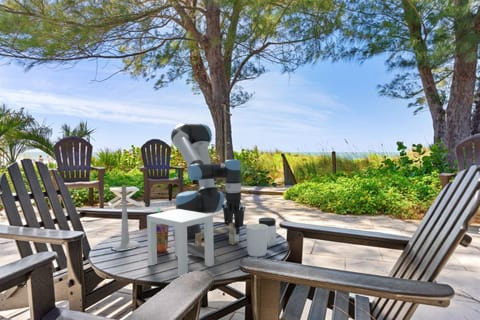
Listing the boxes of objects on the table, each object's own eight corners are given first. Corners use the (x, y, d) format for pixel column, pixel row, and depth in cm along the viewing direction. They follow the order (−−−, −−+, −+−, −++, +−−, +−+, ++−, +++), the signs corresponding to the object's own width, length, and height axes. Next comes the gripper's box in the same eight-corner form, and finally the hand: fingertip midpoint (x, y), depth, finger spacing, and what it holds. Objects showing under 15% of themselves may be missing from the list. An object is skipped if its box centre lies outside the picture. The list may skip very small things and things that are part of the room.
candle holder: (244, 250, 136) (244, 224, 136) (266, 249, 137) (265, 223, 136) (247, 257, 126) (246, 229, 126) (270, 256, 127) (269, 228, 127)
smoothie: (152, 255, 130) (151, 210, 130) (148, 250, 138) (147, 207, 137) (171, 252, 134) (170, 208, 134) (167, 247, 142) (166, 205, 141)
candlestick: (127, 241, 152) (125, 182, 151) (145, 245, 146) (143, 183, 145) (105, 248, 141) (103, 185, 140) (123, 253, 135) (121, 186, 134)
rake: (227, 240, 150) (227, 220, 150) (246, 244, 142) (246, 223, 142) (187, 252, 130) (187, 229, 130) (206, 258, 122) (206, 234, 122)
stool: (148, 265, 120) (146, 215, 119) (179, 254, 132) (178, 208, 132) (182, 278, 106) (181, 222, 106) (213, 264, 119) (212, 214, 118)
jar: (265, 247, 139) (265, 222, 139) (255, 243, 146) (254, 218, 146) (280, 244, 144) (279, 219, 144) (269, 240, 151) (269, 216, 150)
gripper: (216, 191, 146) (217, 239, 147) (240, 193, 136) (241, 245, 137) (226, 189, 152) (227, 235, 152) (250, 192, 142) (251, 241, 143)
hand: (234, 240), depth 145 cm, fingers closed on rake, 2 cm apart
